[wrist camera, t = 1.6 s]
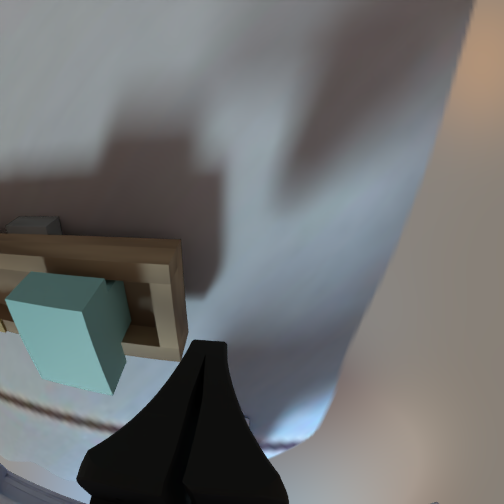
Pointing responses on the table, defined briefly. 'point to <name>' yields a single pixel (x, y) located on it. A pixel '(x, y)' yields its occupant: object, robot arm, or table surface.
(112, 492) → the robot arm
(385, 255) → the table surface
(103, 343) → the block
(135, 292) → the wooden tray
